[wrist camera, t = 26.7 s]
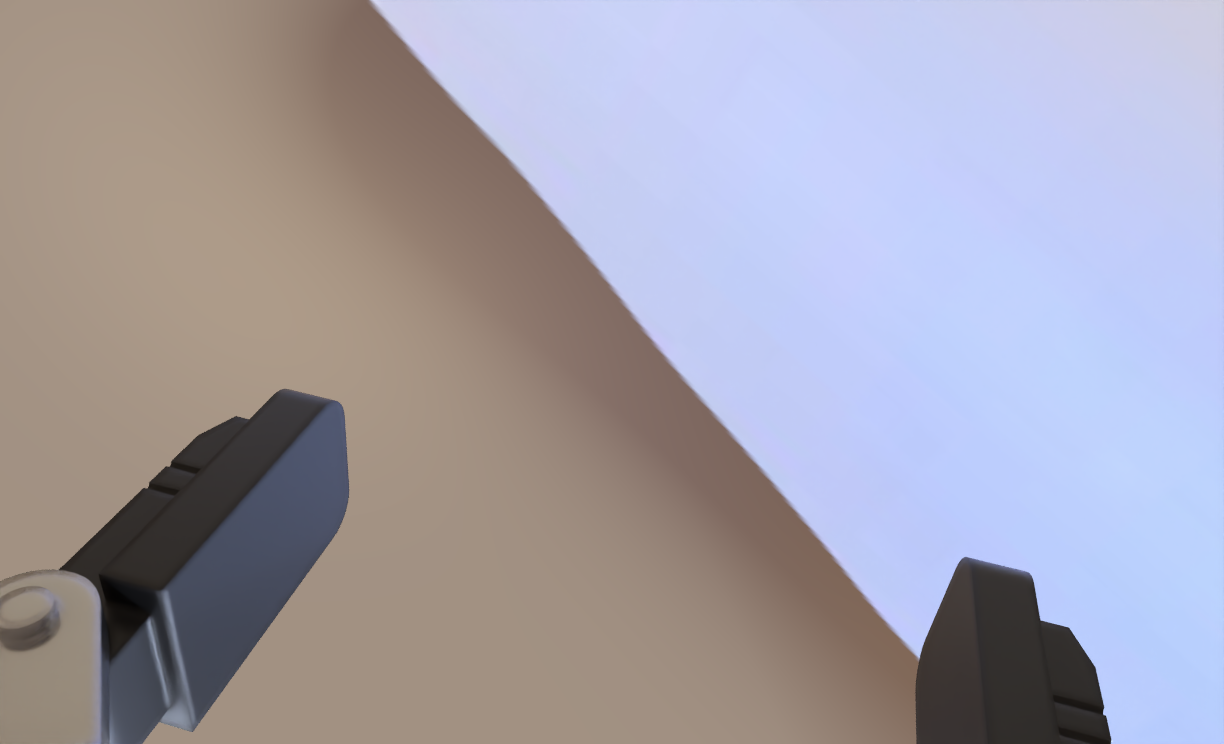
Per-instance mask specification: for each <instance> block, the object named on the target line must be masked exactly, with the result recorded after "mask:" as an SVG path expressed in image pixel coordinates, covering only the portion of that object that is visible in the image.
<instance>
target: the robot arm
mask: <svg viewBox="0 0 1224 744" xmlns="http://www.w3.org/2000/svg"><path fill="white" fill-rule="evenodd" d="M348 498H349V479H348V464H347V447H346V432H345V416H344V410H343V407H342V405H341V404H340V403H339V402H337V401H334V400H330V399H326V398H322V397H318V396H314V395H310V394H306V393H302V392H297V391H293V390H289V389H282V390H280V391H278V392H276V393H275V394H274V395H273V396H272V397H271V398H270V399H269V400H268V401H267V402H266V403H265V404H264V405H263V406H262V407H261V408H260V409H259V410H258V411H257V412H256V413H255V414H254V415H253V417H251V418H250V419H245V418H241V417H237V416H236V417H234V418H231V419H230V420H227V421H226V422H224V423H222V424H220V425H218V426H216V427H214V428H212V429H210V430H208V431H206V432H204V433H202V434H200V435H198V436H197V437H196V438H195V439H194V440H193V441H192V442H191V443H190V444H189V445H188V446H187V447H186V448H185V449H183V450H182V451H181V452H180V453H179V454H178V455H177V456H176V457H175V458H174V459H173V460H172V462H171V466H170V467H165V468H164V469H163V470H162V471H161V472H160V473H159V474H158V475H157V476H156V477H155V478H154V479H152V480H151V481H150V483H149V487H148V488H147V489H145V488H143V489H142V490H141V491H140V492H139V493H138V494H137V495H136V496H135V497H134V498H133V499H132V500H131V501H130V502H129V503H128V504H127V505H126V506H125V507H124V508H122V509H121V510H120V511H119V513H117V514H116V515H115V516H114V517H113V518H112V519H111V520H110V521H109V522H108V523H107V524H106V525H105V526H104V527H103V528H102V529H101V530H100V531H99V532H98V533H97V534H96V535H95V536H94V537H93V538H91V539H90V540H89V541H88V542H87V543H86V544H85V545H84V546H83V547H82V548H81V549H80V550H79V551H78V552H77V553H76V554H75V555H74V556H73V557H72V558H71V559H70V560H69V561H68V562H67V563H66V564H65V565H64V566H62V567H61V568H60V569H59V570H39V571H31V572H26V573H22V574H18V575H15V576H12V577H9V578H7V579H4V580H2V581H0V744H142V743H143V742H144V740H145V739H146V738H147V736H148V735H149V734H150V733H151V732H152V730H153V729H154V728H155V726H156V725H157V724H158V722H161V723H164V724H168V725H171V726H174V727H177V728H181V729H184V730H187V731H191V732H193V731H194V729H195V728H196V727H197V725H198V723H200V721H201V720H202V718H203V717H204V715H205V714H206V713H207V711H208V710H209V709H210V707H211V706H212V704H213V703H214V702H215V700H216V699H217V698H218V696H219V695H220V693H221V692H222V691H223V689H224V688H225V687H226V685H227V684H228V682H229V681H230V680H231V678H232V677H233V676H234V674H235V673H236V671H237V670H238V669H239V667H240V666H241V664H242V663H243V662H244V660H245V659H246V658H247V656H248V655H249V653H250V652H251V651H252V649H253V648H254V647H255V645H256V644H257V642H258V641H259V640H260V638H261V637H262V636H263V634H264V633H265V631H266V630H267V628H268V627H269V626H270V624H271V623H272V622H273V620H274V619H275V618H276V616H277V615H278V613H279V612H280V611H281V609H282V608H283V606H284V605H285V604H286V602H287V601H288V600H289V598H290V597H291V595H292V594H293V593H294V591H295V590H296V588H297V587H298V586H299V584H300V583H301V582H302V580H303V579H304V578H305V576H306V574H307V573H308V572H309V571H310V569H311V568H312V566H313V565H314V564H315V562H316V561H317V559H318V558H319V557H320V555H321V554H322V553H323V551H324V550H325V548H326V547H327V546H328V544H329V543H330V542H331V540H332V539H333V537H334V536H335V534H336V533H337V531H338V529H339V527H340V525H341V523H342V520H343V518H344V515H345V512H346V508H347V503H348ZM1103 709H1104V705H1103V700H1102V696H1101V691H1100V686H1099V682H1098V677H1097V673H1096V668H1095V666H1094V665H1093V663H1092V662H1091V660H1090V659H1089V657H1088V656H1087V654H1086V653H1085V651H1084V650H1083V648H1082V647H1081V645H1080V644H1079V642H1078V641H1077V639H1076V638H1075V636H1074V635H1073V633H1072V632H1071V630H1070V629H1069V628H1068V627H1064V626H1060V625H1056V624H1052V623H1048V622H1044V621H1040V616H1039V610H1038V604H1037V598H1036V593H1035V587H1034V582H1033V578H1032V576H1031V575H1030V573H1028V572H1025V571H1021V570H1017V569H1013V568H1009V567H1005V566H1000V565H996V564H992V563H988V562H984V561H980V560H976V559H972V558H968V557H964V558H963V559H962V560H961V561H960V562H959V564H958V566H957V568H956V570H955V572H954V574H953V577H952V579H951V581H950V584H949V586H948V588H947V591H946V593H945V595H944V598H943V600H942V602H941V605H940V607H939V609H938V611H937V614H936V616H935V618H934V621H933V623H932V625H931V628H930V630H929V632H928V635H927V637H926V639H925V642H924V645H923V648H922V652H921V655H920V660H919V665H918V670H917V678H916V735H917V744H1111V736H1110V732H1109V727H1108V723H1107V718H1106V716H1105V715H1103Z"/></svg>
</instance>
